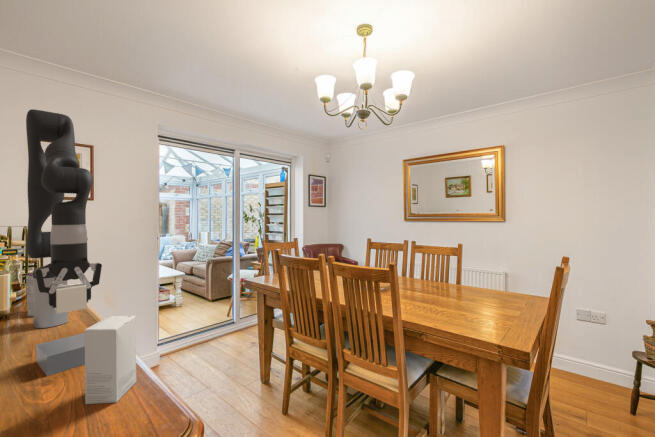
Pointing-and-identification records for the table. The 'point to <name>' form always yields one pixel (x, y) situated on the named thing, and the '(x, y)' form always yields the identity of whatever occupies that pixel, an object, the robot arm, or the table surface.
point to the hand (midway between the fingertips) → (70, 304)
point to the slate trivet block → (61, 354)
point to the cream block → (71, 297)
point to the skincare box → (110, 359)
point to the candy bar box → (30, 295)
